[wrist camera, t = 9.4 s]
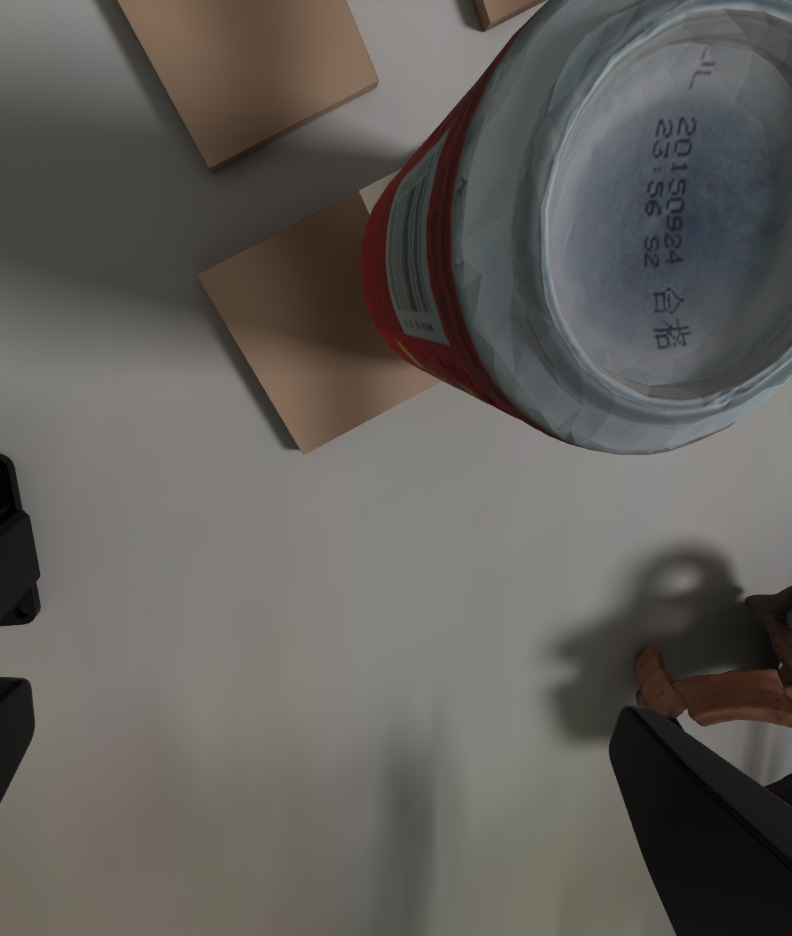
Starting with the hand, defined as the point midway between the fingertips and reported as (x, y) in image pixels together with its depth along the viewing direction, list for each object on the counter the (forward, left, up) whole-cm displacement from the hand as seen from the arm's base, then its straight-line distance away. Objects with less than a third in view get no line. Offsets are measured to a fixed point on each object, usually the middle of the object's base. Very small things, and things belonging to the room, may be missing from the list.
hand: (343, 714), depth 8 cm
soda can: (+5, +7, -13) cm, 15 cm away
